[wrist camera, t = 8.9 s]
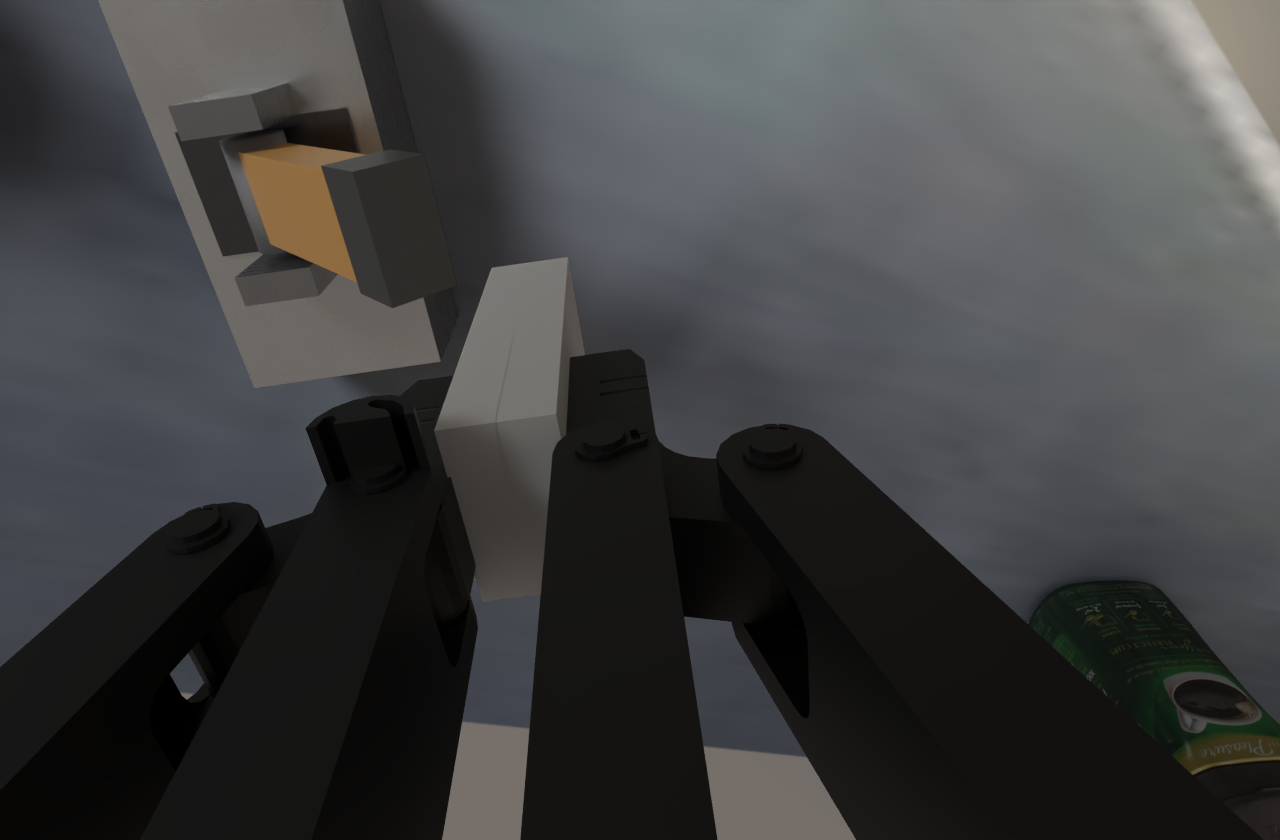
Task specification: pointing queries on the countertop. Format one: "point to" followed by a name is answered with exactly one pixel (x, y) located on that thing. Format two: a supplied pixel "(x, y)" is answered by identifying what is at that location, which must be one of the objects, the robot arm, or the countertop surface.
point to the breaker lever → (344, 213)
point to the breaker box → (309, 115)
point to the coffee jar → (1171, 689)
